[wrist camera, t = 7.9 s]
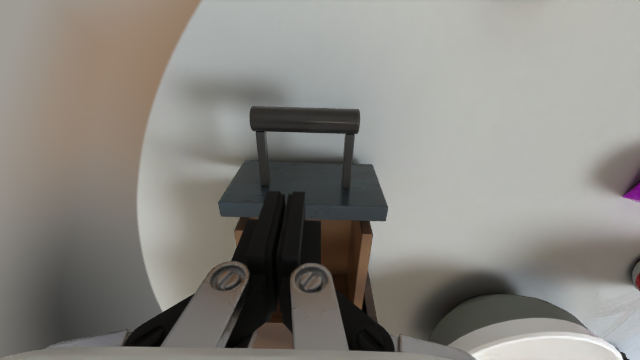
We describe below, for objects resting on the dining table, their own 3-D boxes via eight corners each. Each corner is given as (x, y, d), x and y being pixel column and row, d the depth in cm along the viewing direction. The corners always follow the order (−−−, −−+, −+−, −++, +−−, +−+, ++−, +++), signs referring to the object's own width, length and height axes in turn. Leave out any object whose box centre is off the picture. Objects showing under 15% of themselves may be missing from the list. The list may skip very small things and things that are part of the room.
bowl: (596, 283, 32) (677, 357, 24) (503, 366, 40) (542, 439, 33) (452, 248, 30) (493, 317, 22) (386, 344, 38) (400, 417, 31)
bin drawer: (236, 92, 21) (201, 115, 15) (381, 97, 21) (403, 121, 15) (257, 270, 30) (240, 327, 24) (358, 273, 30) (366, 331, 24)
